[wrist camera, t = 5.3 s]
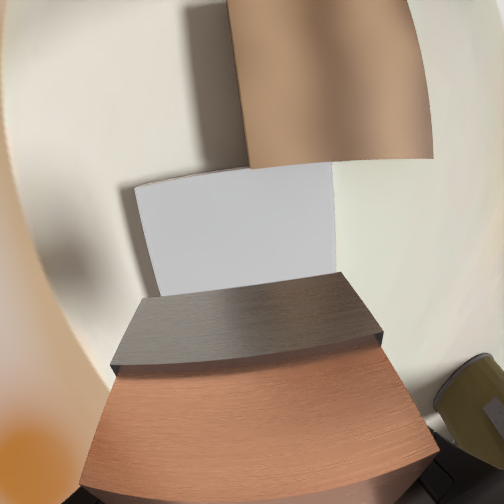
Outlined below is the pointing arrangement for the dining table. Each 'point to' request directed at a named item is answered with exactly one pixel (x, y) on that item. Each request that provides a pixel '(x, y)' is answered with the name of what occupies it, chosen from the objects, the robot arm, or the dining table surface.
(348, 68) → the walnut plinth
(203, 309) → the housing
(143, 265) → the dining table surface
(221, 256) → the ceramic tile
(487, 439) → the canister
